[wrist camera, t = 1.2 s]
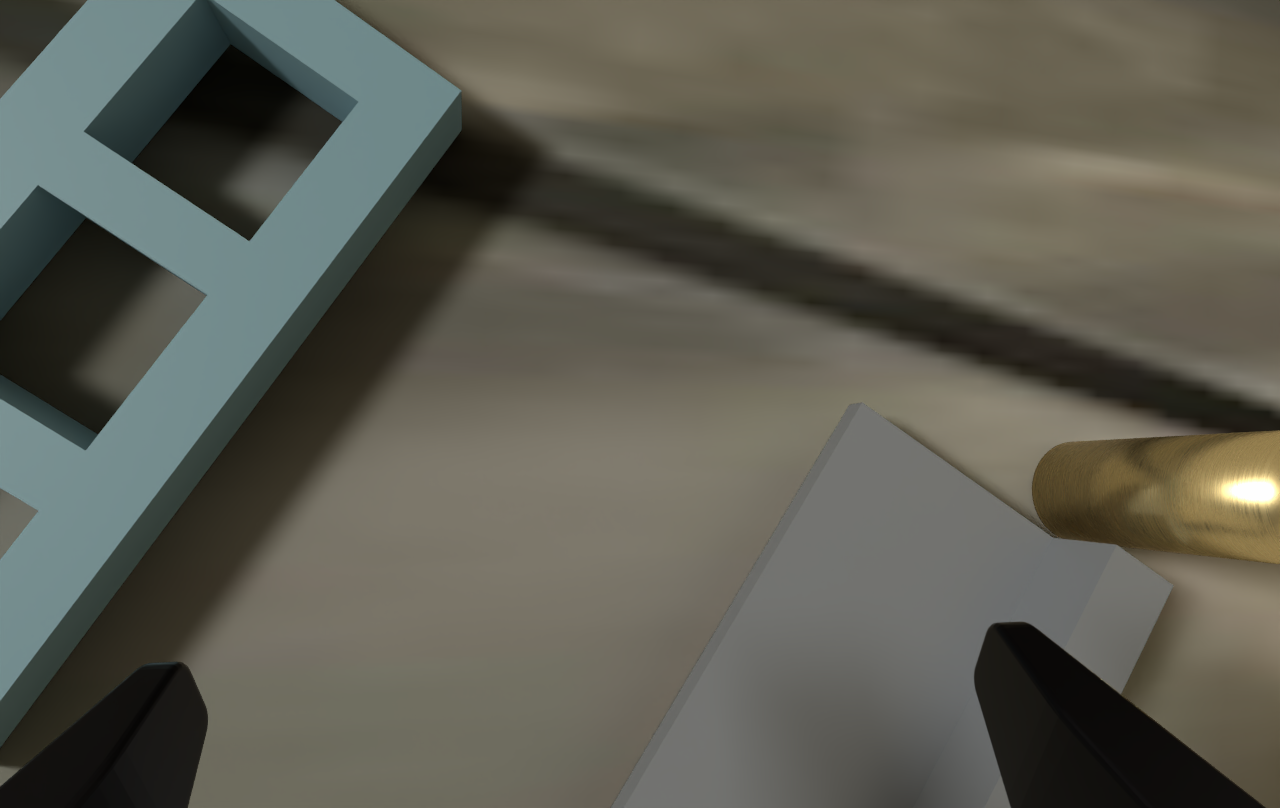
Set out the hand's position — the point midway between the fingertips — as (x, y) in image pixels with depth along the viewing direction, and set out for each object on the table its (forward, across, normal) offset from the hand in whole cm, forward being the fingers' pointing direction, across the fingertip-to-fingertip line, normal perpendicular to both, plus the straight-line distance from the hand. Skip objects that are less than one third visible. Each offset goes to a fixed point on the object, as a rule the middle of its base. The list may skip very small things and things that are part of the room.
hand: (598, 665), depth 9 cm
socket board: (+14, +12, +2) cm, 19 cm away
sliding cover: (+7, -6, +13) cm, 16 cm away
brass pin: (+14, -15, +9) cm, 23 cm away
